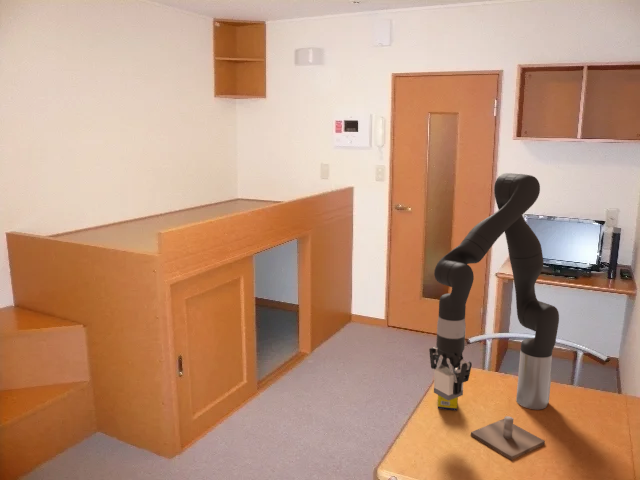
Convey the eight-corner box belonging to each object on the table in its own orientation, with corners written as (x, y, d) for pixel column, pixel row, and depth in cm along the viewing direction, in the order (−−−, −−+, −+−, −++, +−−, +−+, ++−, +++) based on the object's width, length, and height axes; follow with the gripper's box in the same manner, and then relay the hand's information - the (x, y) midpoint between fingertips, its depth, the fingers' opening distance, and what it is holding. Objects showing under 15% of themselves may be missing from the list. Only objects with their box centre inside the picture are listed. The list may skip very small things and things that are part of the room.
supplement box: (457, 411, 171) (459, 378, 169) (437, 409, 172) (439, 376, 170) (456, 401, 177) (458, 369, 175) (437, 400, 178) (439, 368, 176)
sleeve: (448, 387, 159) (449, 364, 158) (462, 395, 155) (464, 371, 153) (433, 392, 156) (434, 369, 155) (448, 400, 152) (449, 376, 150)
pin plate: (503, 421, 165) (505, 401, 164) (544, 444, 154) (546, 422, 152) (470, 435, 158) (472, 414, 157) (511, 460, 146) (513, 437, 145)
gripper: (481, 337, 148) (477, 396, 151) (441, 321, 160) (439, 376, 163) (461, 343, 144) (458, 403, 147) (422, 327, 156) (420, 382, 159)
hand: (448, 389), depth 155 cm, fingers closed on sleeve, 5 cm apart
